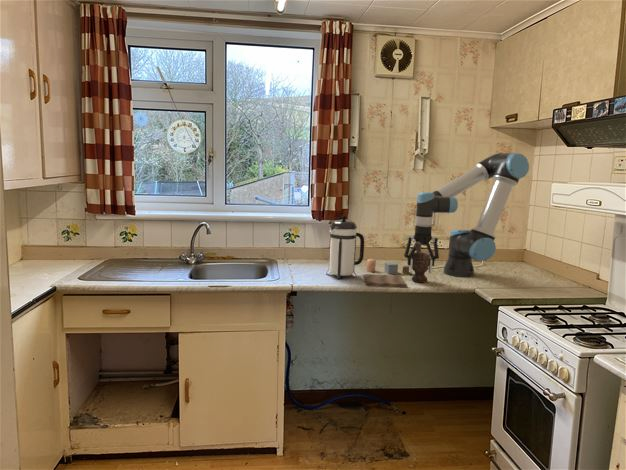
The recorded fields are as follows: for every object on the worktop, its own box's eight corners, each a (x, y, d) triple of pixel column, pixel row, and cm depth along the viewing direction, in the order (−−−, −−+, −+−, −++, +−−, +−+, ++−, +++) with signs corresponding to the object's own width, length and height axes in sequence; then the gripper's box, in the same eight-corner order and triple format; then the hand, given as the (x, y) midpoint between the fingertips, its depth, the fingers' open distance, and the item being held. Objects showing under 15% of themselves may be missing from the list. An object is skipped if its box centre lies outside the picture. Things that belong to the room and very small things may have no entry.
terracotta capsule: (374, 270, 236) (375, 259, 235) (375, 272, 232) (376, 260, 231) (366, 269, 236) (366, 258, 235) (367, 272, 232) (367, 260, 231)
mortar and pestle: (430, 285, 210) (433, 242, 207) (411, 284, 211) (413, 241, 208) (427, 278, 221) (429, 238, 218) (409, 277, 222) (411, 237, 219)
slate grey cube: (393, 271, 235) (394, 262, 234) (397, 274, 230) (398, 264, 229) (384, 272, 234) (385, 262, 233) (388, 274, 229) (388, 264, 228)
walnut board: (400, 278, 221) (400, 275, 221) (406, 287, 205) (406, 284, 205) (363, 277, 221) (363, 274, 221) (366, 285, 206) (366, 282, 205)
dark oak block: (411, 273, 232) (412, 266, 231) (410, 275, 228) (410, 267, 228) (403, 272, 233) (404, 265, 233) (402, 274, 230) (402, 266, 229)
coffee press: (354, 281, 212) (358, 218, 207) (322, 277, 217) (324, 215, 212) (362, 273, 228) (366, 214, 223) (332, 270, 233) (335, 212, 228)
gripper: (444, 225, 215) (440, 271, 219) (399, 223, 216) (396, 269, 219) (448, 227, 208) (444, 275, 212) (402, 225, 208) (399, 273, 212)
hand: (420, 272), depth 215 cm, fingers closed on mortar and pestle, 8 cm apart
